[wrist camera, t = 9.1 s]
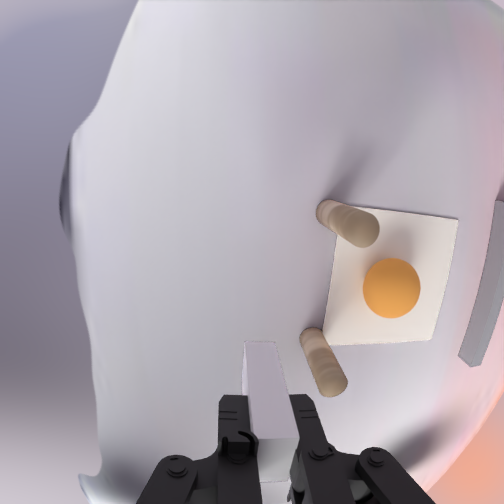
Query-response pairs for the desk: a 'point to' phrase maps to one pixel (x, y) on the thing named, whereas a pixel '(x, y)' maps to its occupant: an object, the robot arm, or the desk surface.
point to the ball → (391, 288)
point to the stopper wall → (487, 295)
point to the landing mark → (386, 246)
